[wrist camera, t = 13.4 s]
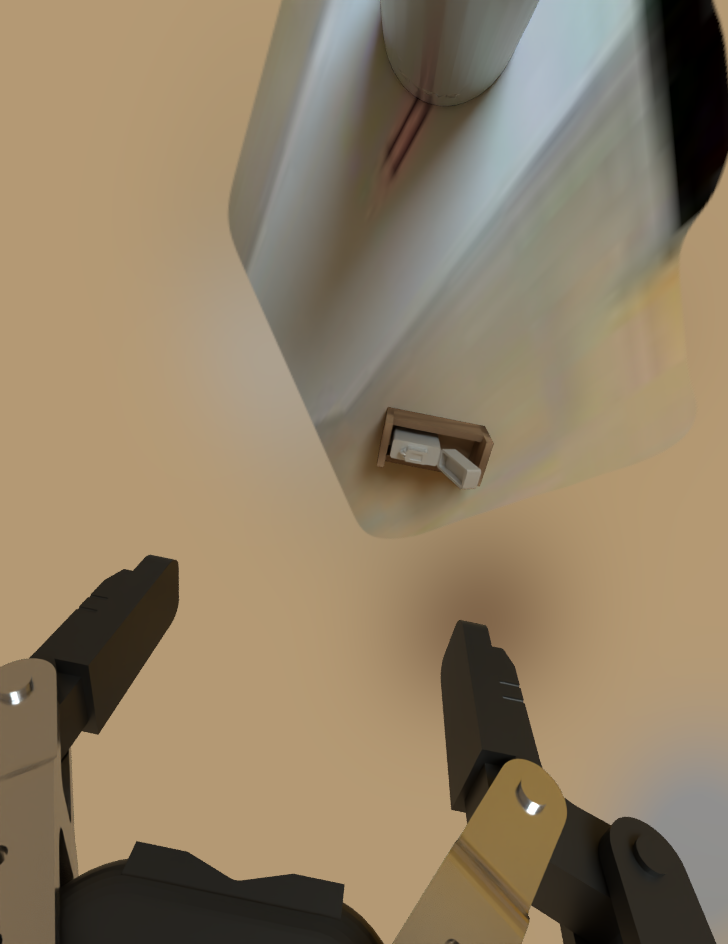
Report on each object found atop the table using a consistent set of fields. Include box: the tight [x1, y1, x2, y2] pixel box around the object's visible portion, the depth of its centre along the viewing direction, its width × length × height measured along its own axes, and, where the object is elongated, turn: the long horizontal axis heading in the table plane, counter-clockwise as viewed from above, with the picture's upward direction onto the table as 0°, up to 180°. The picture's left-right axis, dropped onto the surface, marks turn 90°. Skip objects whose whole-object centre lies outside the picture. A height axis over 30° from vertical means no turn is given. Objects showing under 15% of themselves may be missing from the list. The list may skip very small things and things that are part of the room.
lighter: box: [390, 425, 481, 489], centre depth 37 cm, size 7×2×8 cm, turn 80°
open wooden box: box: [377, 407, 494, 486], centre depth 39 cm, size 4×9×4 cm, turn 80°
